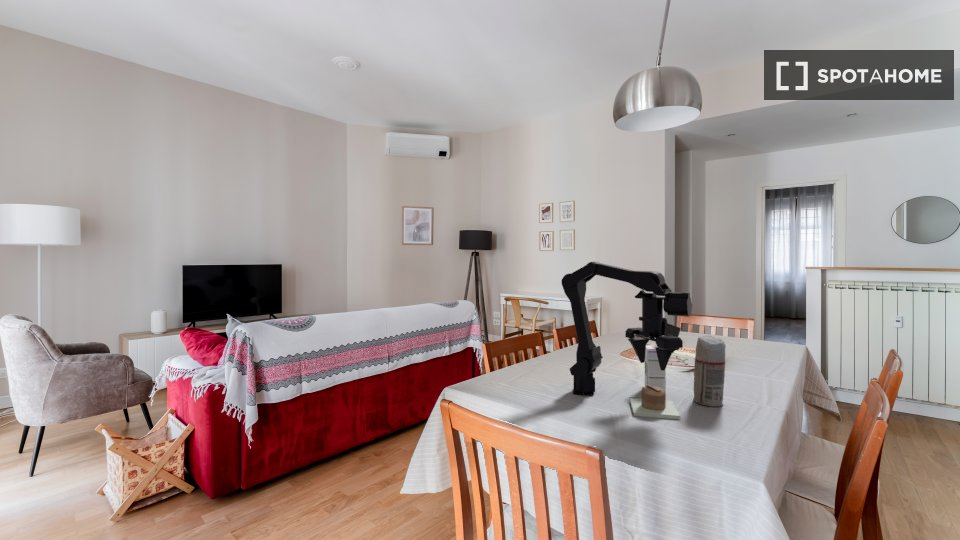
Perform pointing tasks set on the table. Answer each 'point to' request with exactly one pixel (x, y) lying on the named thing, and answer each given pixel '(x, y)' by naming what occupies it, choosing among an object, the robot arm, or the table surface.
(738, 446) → the table surface
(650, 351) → the syrup box
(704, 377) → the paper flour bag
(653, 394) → the cap
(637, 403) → the pale green flat slab
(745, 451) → the table surface
